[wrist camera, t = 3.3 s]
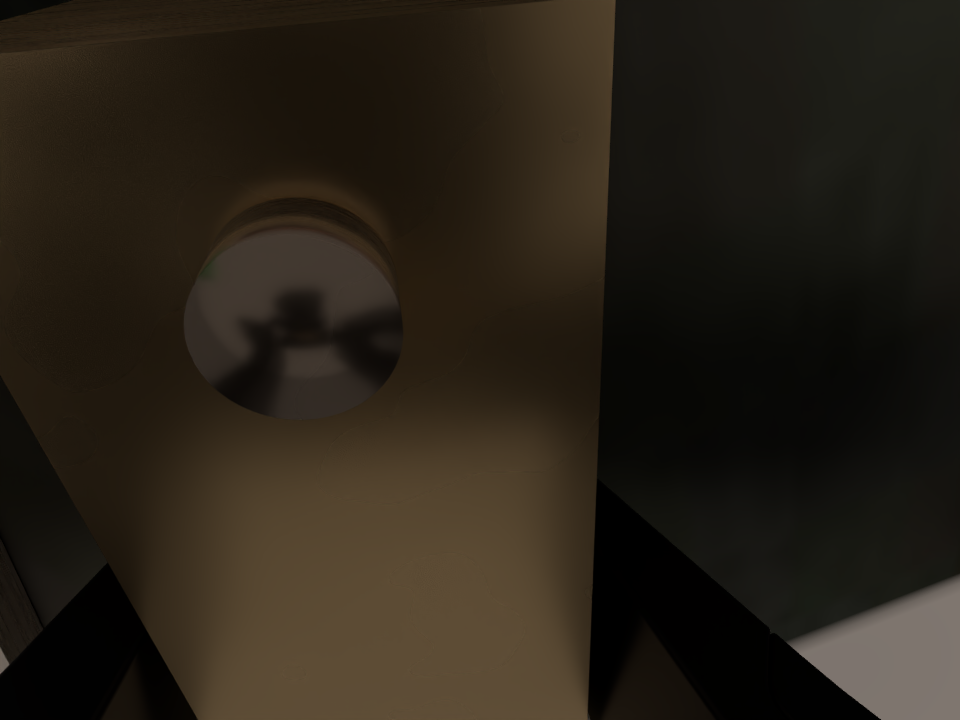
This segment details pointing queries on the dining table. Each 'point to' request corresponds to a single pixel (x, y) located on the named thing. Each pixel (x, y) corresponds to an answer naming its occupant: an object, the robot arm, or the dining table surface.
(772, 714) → the robot arm
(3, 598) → the chain end
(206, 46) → the bar
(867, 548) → the dining table surface
